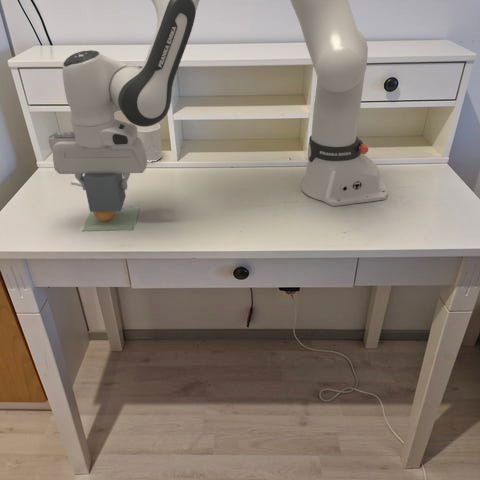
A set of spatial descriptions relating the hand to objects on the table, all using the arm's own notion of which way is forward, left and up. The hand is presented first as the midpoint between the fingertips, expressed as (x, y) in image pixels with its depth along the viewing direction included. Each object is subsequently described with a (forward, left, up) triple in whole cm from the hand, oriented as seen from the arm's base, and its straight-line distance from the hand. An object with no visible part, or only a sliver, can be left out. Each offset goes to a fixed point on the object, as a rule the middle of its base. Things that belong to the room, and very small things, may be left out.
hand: (105, 188), depth 109 cm
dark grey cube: (0, 0, -4) cm, 4 cm away
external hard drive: (+7, -20, -9) cm, 23 cm away
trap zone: (0, 0, -8) cm, 8 cm away
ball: (+1, 0, -6) cm, 6 cm away
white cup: (-5, -35, -8) cm, 36 cm away
